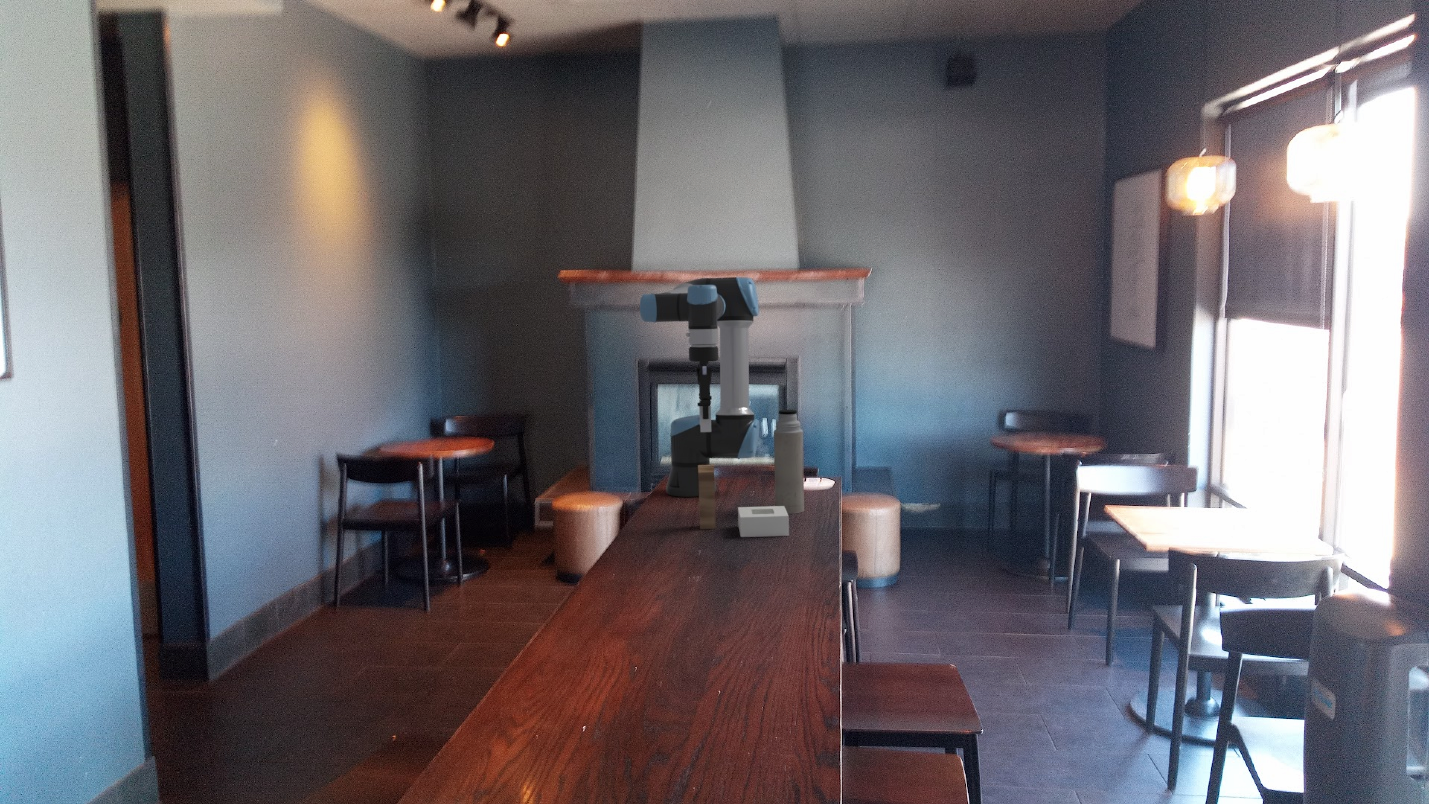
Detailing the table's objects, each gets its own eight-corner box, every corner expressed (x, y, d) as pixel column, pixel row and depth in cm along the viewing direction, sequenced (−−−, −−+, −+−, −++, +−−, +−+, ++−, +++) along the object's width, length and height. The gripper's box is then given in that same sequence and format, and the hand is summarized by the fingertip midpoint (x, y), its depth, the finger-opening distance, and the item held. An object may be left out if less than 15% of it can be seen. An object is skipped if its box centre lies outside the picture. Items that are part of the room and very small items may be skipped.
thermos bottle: (803, 507, 296) (801, 408, 293) (805, 513, 288) (803, 411, 285) (774, 507, 296) (772, 408, 293) (775, 514, 288) (773, 412, 285)
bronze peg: (699, 525, 277) (698, 465, 275) (715, 525, 277) (713, 464, 275) (699, 529, 273) (698, 467, 271) (715, 528, 273) (714, 467, 271)
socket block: (738, 526, 275) (738, 507, 275) (784, 524, 275) (784, 505, 275) (740, 537, 263) (740, 517, 263) (788, 535, 263) (788, 515, 263)
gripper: (688, 343, 282) (690, 422, 284) (688, 348, 257) (691, 435, 259) (716, 342, 282) (718, 421, 284) (719, 348, 257) (721, 434, 260)
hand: (705, 428), depth 272 cm, fingers open, 13 cm apart
